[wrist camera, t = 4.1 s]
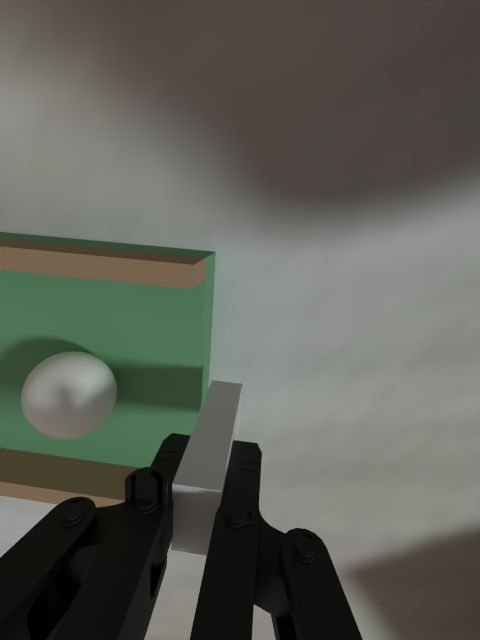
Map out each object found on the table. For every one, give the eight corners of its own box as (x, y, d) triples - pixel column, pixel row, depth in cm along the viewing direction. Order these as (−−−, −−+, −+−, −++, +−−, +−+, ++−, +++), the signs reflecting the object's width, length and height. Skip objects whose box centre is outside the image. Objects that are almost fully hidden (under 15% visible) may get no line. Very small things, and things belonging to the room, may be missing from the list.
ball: (54, 334, 18) (-10, 369, 14) (129, 343, 17) (86, 381, 13) (61, 402, 19) (5, 452, 15) (131, 411, 19) (92, 464, 15)
